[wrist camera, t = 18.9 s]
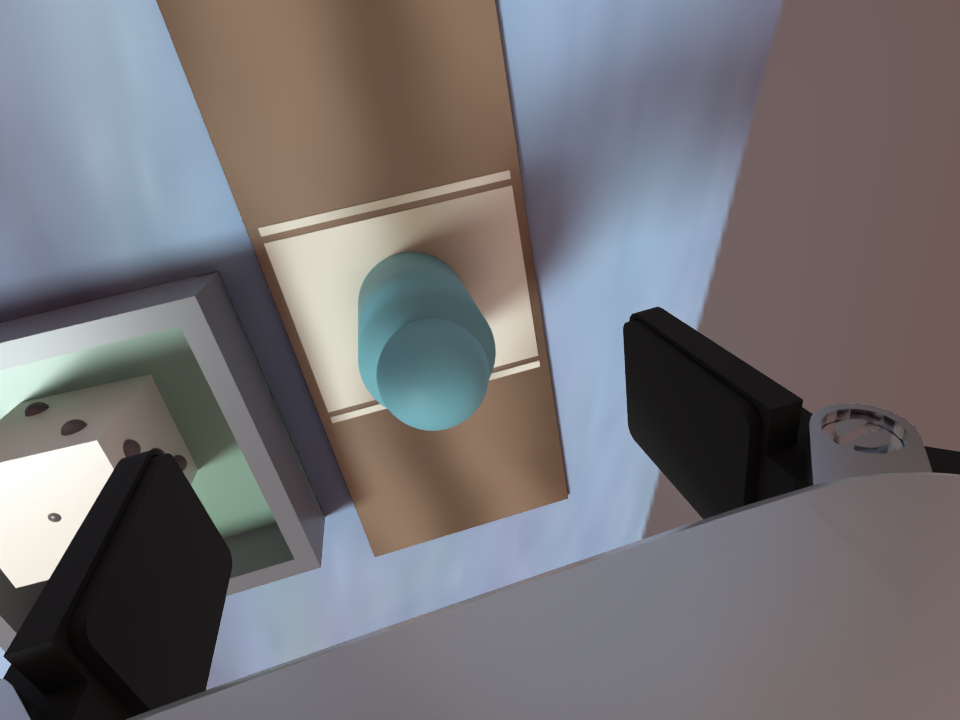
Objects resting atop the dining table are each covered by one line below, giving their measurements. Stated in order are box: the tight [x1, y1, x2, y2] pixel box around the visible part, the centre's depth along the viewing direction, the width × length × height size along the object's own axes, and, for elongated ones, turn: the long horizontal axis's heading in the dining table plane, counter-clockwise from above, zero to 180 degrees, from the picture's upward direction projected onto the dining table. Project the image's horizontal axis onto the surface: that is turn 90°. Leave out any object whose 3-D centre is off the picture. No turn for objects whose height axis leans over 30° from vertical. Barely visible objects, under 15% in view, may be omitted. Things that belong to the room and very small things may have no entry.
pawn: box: [358, 252, 496, 431], centre depth 17 cm, size 4×4×8 cm
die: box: [0, 374, 198, 588], centre depth 18 cm, size 5×5×4 cm
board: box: [156, 0, 568, 557], centre depth 19 cm, size 10×32×1 cm, turn 11°
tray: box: [0, 271, 325, 652], centre depth 19 cm, size 12×12×3 cm
